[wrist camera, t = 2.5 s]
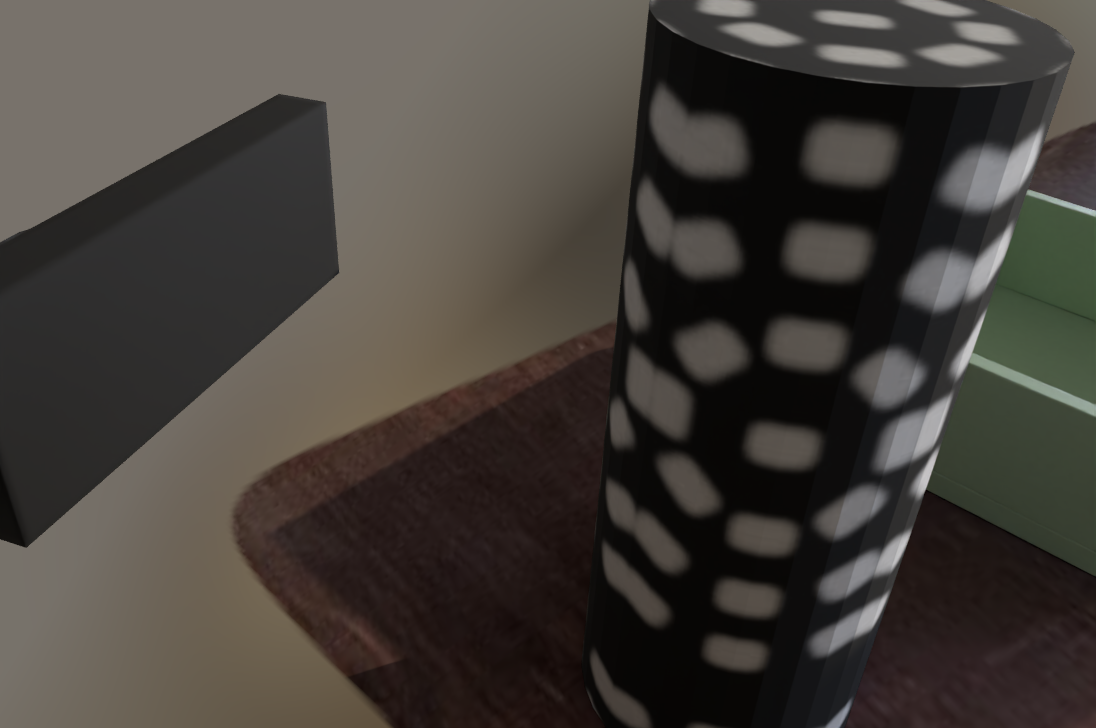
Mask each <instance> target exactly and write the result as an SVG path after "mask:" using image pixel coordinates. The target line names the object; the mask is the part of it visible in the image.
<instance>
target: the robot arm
mask: <svg viewBox="0 0 1096 728" xmlns="http://www.w3.org/2000/svg"><path fill="white" fill-rule="evenodd" d="M338 273H339V266H338V253H337V241H336V228H335V214H334V203H333V188H332V175H331V163H330V150H329V137H328V123H327V111H326V102H321V101H315V100H310V99H304V98H299V97H293V96H287V95H281V94H278V95H276V96H274V97H273V98H271V99H269V100H267V101H265V102H263V103H261V104H260V105H258V106H256V107H254V108H252V109H251V110H249V111H247V112H245V113H243V114H241V115H239V116H238V117H236V118H234V119H232V120H230V121H228V122H226V123H225V124H223V125H221V126H219V127H217V128H215V129H214V130H212V131H210V132H208V133H206V134H204V135H203V136H201V137H199V138H197V139H195V140H193V141H191V142H190V143H188V144H186V145H184V146H182V147H180V148H179V149H177V150H175V151H173V152H171V153H170V154H167V155H166V156H164V157H162V158H161V159H158V160H156V161H155V162H153V163H151V164H149V165H147V166H145V167H143V168H142V169H140V170H138V171H136V172H134V173H132V174H131V175H129V176H127V177H125V178H123V179H121V180H120V181H118V182H116V183H114V184H112V185H110V186H109V187H107V188H105V189H103V190H101V191H99V192H97V193H96V194H94V195H92V196H90V197H88V198H86V199H85V200H83V201H81V202H79V203H77V204H75V205H73V206H72V207H70V208H68V209H66V210H64V211H62V212H61V213H59V214H57V215H55V216H53V217H51V218H49V219H48V220H46V221H44V222H42V223H40V224H38V225H37V226H35V227H33V228H31V229H28V230H25V231H22V232H19V233H17V234H15V235H13V236H11V237H10V238H8V239H6V240H4V241H2V242H0V539H1V540H4V541H7V542H10V543H14V544H17V545H19V546H23V547H28V546H29V545H30V544H31V543H32V542H33V541H34V540H36V539H37V538H38V537H39V536H40V535H41V534H42V533H44V532H45V531H46V530H47V529H48V528H49V527H50V526H52V525H53V524H54V523H55V522H56V521H57V520H58V519H59V518H61V517H62V516H63V515H64V514H65V513H66V512H67V511H69V510H70V509H71V508H72V507H73V506H74V505H75V504H77V503H78V502H79V501H80V500H81V499H82V498H83V497H85V496H86V495H87V494H88V493H89V492H90V491H91V490H92V489H94V488H95V487H96V486H97V485H98V484H99V483H101V482H102V481H103V480H104V479H105V478H106V477H107V476H108V475H110V474H111V473H112V472H113V471H114V470H115V469H116V468H118V467H119V466H120V465H121V464H122V463H123V462H124V461H126V460H127V458H129V457H130V456H131V455H132V454H133V453H134V452H136V451H137V450H138V449H139V448H140V447H141V446H143V445H144V444H145V443H146V442H147V441H148V440H149V439H151V438H152V437H153V436H154V435H155V434H156V433H157V432H159V431H160V430H161V429H162V428H163V427H164V426H165V425H166V424H168V423H169V422H170V421H171V420H172V419H173V418H174V417H176V416H177V415H178V414H179V413H180V412H181V411H182V410H183V409H185V408H186V407H187V406H188V405H189V404H190V403H191V402H193V401H194V400H195V399H196V398H197V397H198V396H199V395H201V394H202V393H203V392H204V391H205V390H206V389H207V388H208V387H210V386H211V385H212V384H213V383H214V382H215V381H217V380H218V379H219V378H220V377H221V376H222V375H223V374H224V373H226V372H227V371H228V370H229V369H230V368H231V367H232V366H234V365H235V364H236V363H237V362H238V361H239V360H240V359H241V358H243V357H244V356H245V355H246V354H247V353H248V352H250V351H251V350H252V349H253V348H254V347H255V346H256V345H257V344H259V343H260V342H261V341H262V340H263V339H264V338H265V337H266V336H268V335H269V334H270V333H271V332H272V331H273V330H275V329H276V328H277V327H278V326H279V325H280V324H281V323H282V322H284V321H285V320H286V319H287V318H288V317H289V316H290V315H292V313H294V312H295V311H296V310H297V309H298V308H299V307H301V306H302V305H303V304H304V303H305V302H306V301H308V300H309V299H310V298H311V297H312V296H313V295H314V294H315V293H316V292H318V291H319V290H320V289H321V288H322V287H323V286H324V285H326V284H327V283H328V282H329V281H330V280H331V279H332V278H334V277H335V276H336V275H337V274H338Z"/></svg>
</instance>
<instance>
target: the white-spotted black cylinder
mask: <svg viewBox="0 0 1096 728" xmlns="http://www.w3.org/2000/svg"><path fill="white" fill-rule="evenodd" d="M1073 55H1074V50H1073V48H1072V46H1071V44H1070V42H1069V41H1068V40H1067V39H1066V38H1065V37H1064V36H1063V35H1061V34H1060V33H1059V32H1058V31H1057V30H1056V29H1054V28H1052V27H1050V26H1048V25H1047V24H1045V23H1043V22H1041V21H1039V20H1037V19H1035V18H1033V17H1031V16H1028V15H1026V14H1023V13H1021V12H1018V11H1016V10H1014V9H1011V8H1008V7H1005V6H1002V5H998V4H996V3H992V2H989V1H986V0H650V3H649V13H648V23H647V32H646V42H645V51H644V62H643V71H642V80H641V90H640V100H639V110H638V119H637V129H636V139H635V149H634V158H633V168H632V178H631V188H630V198H629V208H628V217H627V226H626V237H625V246H624V256H623V265H622V275H621V285H620V294H619V304H618V314H617V324H616V333H615V343H614V353H613V362H612V372H611V382H610V392H609V401H608V411H607V421H606V431H605V440H604V450H603V460H602V469H601V479H600V489H599V499H598V508H597V518H596V528H595V538H594V547H593V557H592V567H591V576H590V586H589V596H588V606H587V615H586V625H585V635H584V645H583V655H582V671H583V677H584V684H585V688H586V690H587V693H588V696H589V698H590V701H591V703H592V706H593V708H594V710H595V711H596V713H597V714H598V716H599V717H600V719H601V720H602V722H603V723H604V725H605V726H606V728H845V725H846V722H847V719H848V716H849V714H850V711H851V708H852V705H853V702H854V699H855V696H856V693H857V690H858V687H859V684H860V681H861V678H862V675H863V672H864V669H865V667H866V664H867V661H868V658H869V655H870V652H871V649H872V646H873V643H874V640H875V637H876V634H877V631H878V628H879V625H880V622H881V620H882V617H883V614H884V611H885V608H886V605H887V602H888V599H889V596H890V593H891V590H892V587H893V584H894V581H895V578H896V575H897V573H898V570H899V567H900V564H901V561H902V558H903V555H904V552H905V549H906V546H907V543H908V540H909V537H910V534H911V531H912V528H913V526H914V523H915V520H916V517H917V514H918V511H919V508H920V505H921V502H922V499H923V496H924V493H925V490H926V487H927V484H928V481H929V479H930V476H931V473H932V470H933V467H934V464H935V461H936V458H937V455H938V452H939V449H940V446H941V443H942V440H943V437H944V434H945V432H946V429H947V426H948V423H949V420H950V417H951V414H952V411H953V408H954V405H955V402H956V399H957V396H958V393H959V390H960V387H961V385H962V382H963V379H964V376H965V373H966V370H967V367H968V364H969V361H970V358H971V355H972V352H973V349H974V346H975V343H976V340H977V338H978V335H979V332H980V329H981V326H982V323H983V320H984V317H985V314H986V311H987V308H988V305H989V302H990V299H991V296H992V293H993V291H994V288H995V285H996V282H997V279H998V276H999V273H1000V270H1001V267H1002V264H1003V261H1004V258H1005V255H1006V252H1007V249H1008V246H1009V244H1010V241H1011V238H1012V235H1013V232H1014V229H1015V226H1016V223H1017V220H1018V217H1019V214H1020V211H1021V208H1022V205H1023V202H1024V199H1025V197H1026V194H1027V191H1028V188H1029V185H1030V182H1031V179H1032V176H1033V173H1034V170H1035V167H1036V164H1037V161H1038V158H1039V155H1040V152H1041V150H1042V147H1043V144H1044V141H1045V138H1046V135H1047V132H1048V129H1049V126H1050V123H1051V120H1052V117H1053V114H1054V111H1055V108H1056V105H1057V102H1058V99H1059V96H1060V94H1061V91H1062V88H1063V85H1064V82H1065V79H1066V76H1067V73H1068V70H1069V67H1070V64H1071V61H1072V58H1073Z"/></svg>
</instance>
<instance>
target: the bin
mask: <svg viewBox="0 0 1096 728" xmlns="http://www.w3.org/2000/svg"><path fill="white" fill-rule="evenodd" d="M926 490H928V491H930V492H932V493H934V494H936V495H938V496H940V497H942V498H944V499H946V500H948V501H949V502H951V503H953V504H955V505H957V506H959V507H961V508H963V509H965V510H967V511H969V512H971V513H973V514H975V515H977V516H979V517H981V518H982V519H984V520H986V521H988V522H990V523H992V524H994V525H996V526H998V527H1000V528H1002V529H1004V530H1006V531H1008V532H1010V533H1012V534H1014V535H1016V536H1017V537H1019V538H1021V539H1023V540H1025V541H1027V542H1029V543H1031V544H1033V545H1035V546H1037V547H1039V548H1041V549H1043V550H1045V551H1047V552H1049V553H1051V554H1052V555H1054V556H1056V557H1058V558H1060V559H1062V560H1064V561H1066V562H1068V563H1070V564H1072V565H1074V566H1076V567H1078V568H1080V569H1082V570H1084V571H1085V572H1087V573H1089V574H1091V575H1093V576H1095V577H1096V211H1094V210H1091V209H1088V208H1084V207H1081V206H1078V205H1075V204H1072V203H1069V202H1066V201H1062V200H1059V199H1056V198H1053V197H1050V196H1047V195H1044V194H1041V193H1037V192H1034V191H1031V190H1028V191H1027V194H1026V197H1025V199H1024V202H1023V205H1022V208H1021V211H1020V214H1019V217H1018V220H1017V223H1016V226H1015V229H1014V232H1013V235H1012V238H1011V241H1010V244H1009V246H1008V249H1007V252H1006V255H1005V258H1004V261H1003V264H1002V267H1001V270H1000V273H999V276H998V279H997V282H996V285H995V288H994V291H993V293H992V296H991V299H990V302H989V305H988V308H987V311H986V314H985V317H984V320H983V323H982V326H981V329H980V332H979V335H978V338H977V340H976V343H975V346H974V349H973V352H972V355H971V358H970V361H969V364H968V367H967V370H966V373H965V376H964V379H963V382H962V385H961V387H960V390H959V393H958V396H957V399H956V402H955V405H954V408H953V411H952V414H951V417H950V420H949V423H948V426H947V429H946V432H945V434H944V437H943V440H942V443H941V446H940V449H939V452H938V455H937V458H936V461H935V464H934V467H933V470H932V473H931V476H930V479H929V481H928V484H927V487H926Z"/></svg>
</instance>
